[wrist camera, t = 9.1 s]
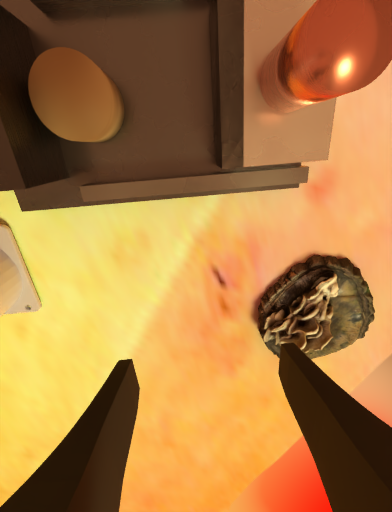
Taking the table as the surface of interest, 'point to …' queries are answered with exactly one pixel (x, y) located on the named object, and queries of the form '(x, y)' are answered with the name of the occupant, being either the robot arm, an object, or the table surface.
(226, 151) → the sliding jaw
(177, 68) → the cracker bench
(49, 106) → the tan rounded lump
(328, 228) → the table surface
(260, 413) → the table surface
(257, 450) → the table surface
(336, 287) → the log
